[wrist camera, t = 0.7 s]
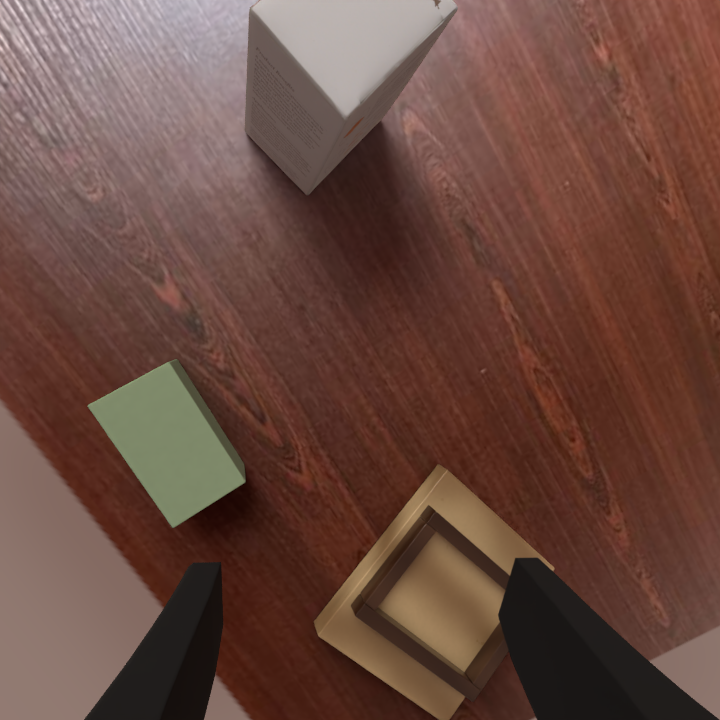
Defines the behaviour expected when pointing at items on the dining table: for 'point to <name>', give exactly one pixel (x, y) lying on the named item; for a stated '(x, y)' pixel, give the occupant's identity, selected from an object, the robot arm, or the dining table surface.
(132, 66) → the dining table surface
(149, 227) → the dining table surface
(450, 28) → the dining table surface
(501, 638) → the wooden base with frame
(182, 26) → the dining table surface
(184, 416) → the green rectangular block
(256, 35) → the small box
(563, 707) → the robot arm
